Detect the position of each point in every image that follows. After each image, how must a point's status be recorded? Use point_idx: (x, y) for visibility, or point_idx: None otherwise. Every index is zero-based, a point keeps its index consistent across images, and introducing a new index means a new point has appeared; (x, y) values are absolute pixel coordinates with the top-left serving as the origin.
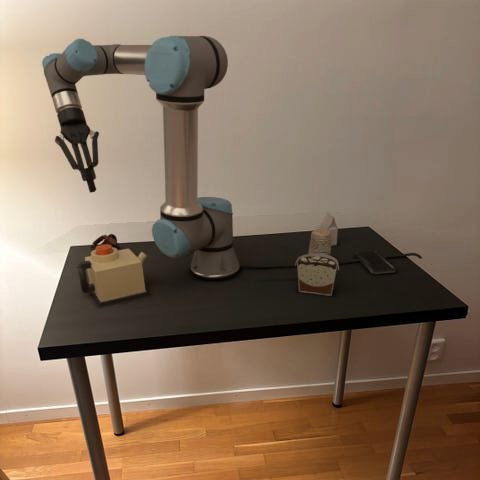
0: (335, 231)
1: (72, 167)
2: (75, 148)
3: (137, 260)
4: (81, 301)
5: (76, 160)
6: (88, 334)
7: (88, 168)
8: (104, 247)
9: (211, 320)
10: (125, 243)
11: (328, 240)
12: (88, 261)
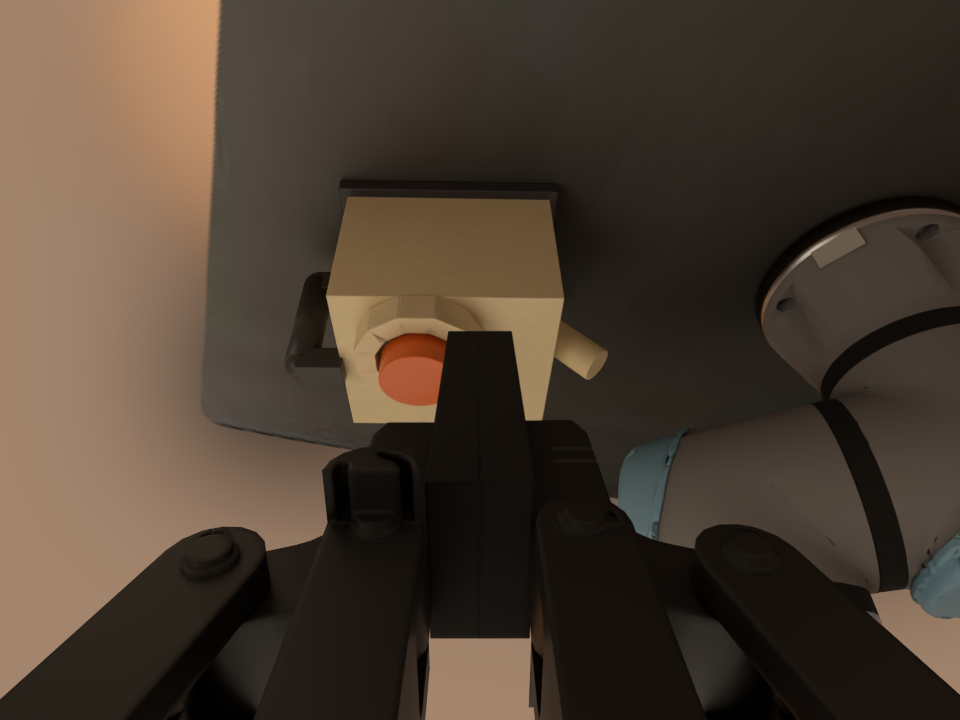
0: None
1: (165, 589)
2: None
3: (533, 409)
4: (302, 264)
5: (257, 713)
6: (312, 417)
7: (496, 627)
8: (421, 387)
9: (601, 468)
10: None
11: None
12: (335, 374)
